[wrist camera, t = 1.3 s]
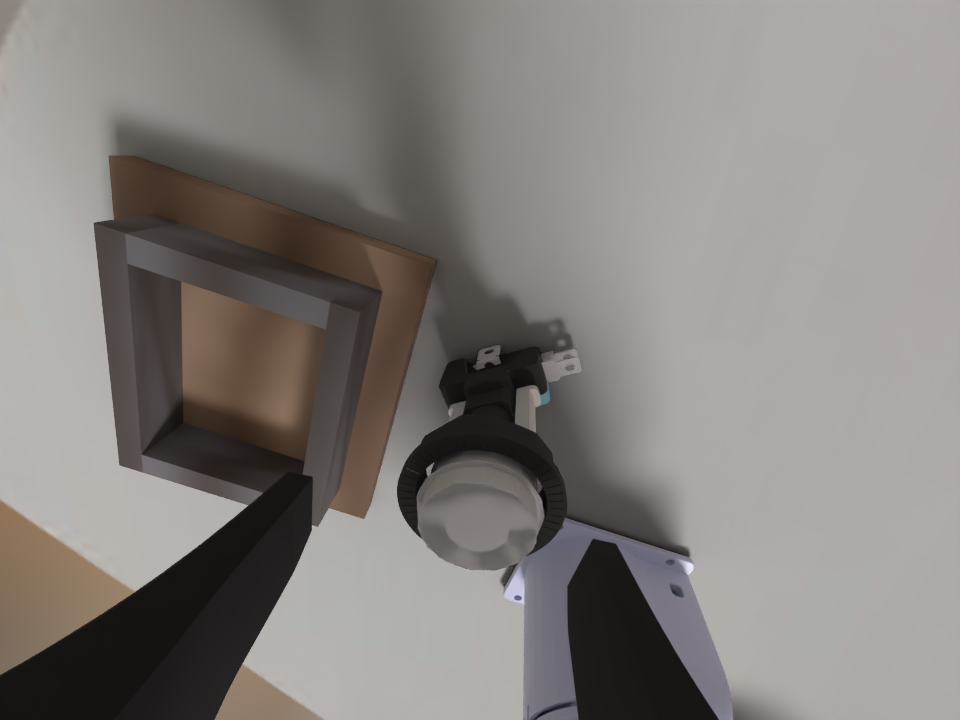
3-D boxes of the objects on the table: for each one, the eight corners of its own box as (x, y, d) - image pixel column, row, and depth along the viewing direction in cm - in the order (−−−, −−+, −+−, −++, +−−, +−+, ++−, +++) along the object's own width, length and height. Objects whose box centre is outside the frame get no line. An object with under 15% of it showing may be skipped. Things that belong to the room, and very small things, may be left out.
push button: (564, 300, 19) (594, 427, 10) (589, 397, 21) (633, 572, 12) (431, 338, 21) (357, 476, 12) (466, 425, 23) (427, 598, 14)
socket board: (437, 260, 19) (415, 284, 15) (370, 504, 26) (345, 559, 23) (133, 155, 18) (37, 155, 15) (150, 434, 26) (88, 479, 22)
